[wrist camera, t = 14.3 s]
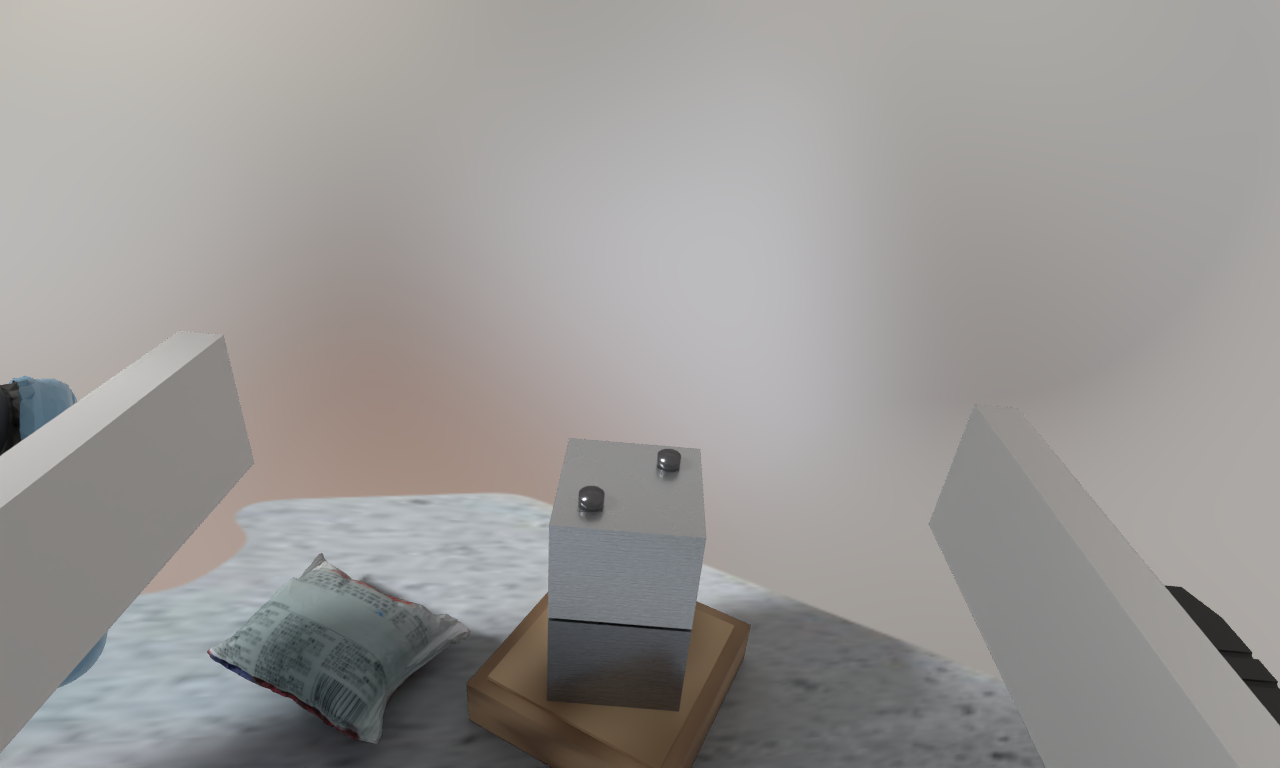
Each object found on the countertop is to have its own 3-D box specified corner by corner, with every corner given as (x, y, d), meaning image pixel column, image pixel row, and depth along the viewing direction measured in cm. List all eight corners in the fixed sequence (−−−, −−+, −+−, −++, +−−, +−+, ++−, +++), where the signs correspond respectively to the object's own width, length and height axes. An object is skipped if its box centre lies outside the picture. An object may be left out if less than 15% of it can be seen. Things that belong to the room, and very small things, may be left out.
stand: (468, 719, 39) (466, 680, 37) (581, 584, 48) (583, 549, 47) (660, 831, 34) (666, 792, 33) (743, 658, 44) (751, 622, 42)
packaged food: (329, 583, 47) (317, 527, 45) (473, 652, 43) (469, 595, 41) (211, 682, 40) (190, 622, 38) (370, 775, 36) (357, 715, 34)
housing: (546, 700, 37) (549, 514, 31) (564, 600, 43) (569, 428, 37) (678, 711, 37) (707, 527, 31) (677, 609, 43) (701, 439, 37)
